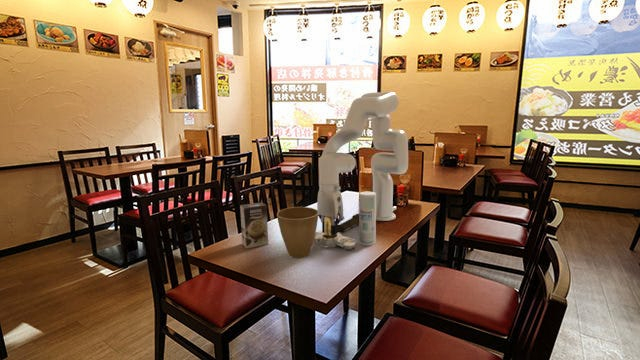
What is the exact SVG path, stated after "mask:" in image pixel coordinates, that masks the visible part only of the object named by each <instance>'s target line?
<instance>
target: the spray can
mask: <svg viewBox="0 0 640 360" xmlns="http://www.w3.org/2000/svg"><path fill="white" fill-rule="evenodd" d="M358 193H359V194H358V197H359V198H358V201H359V202H358V209H359V210H358V212H359V213H358V214H359V224H358V226H359V227H358V229H359V244H361V245H363V246H374V245H375V244H376V237H377V235H376V233H377V232H376V229H377V227H376V226H377V220H376V193H375V192H373V191H370V190H369V191H366V190H365V191H360V192H358Z"/></svg>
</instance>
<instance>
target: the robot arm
mask: <svg viewBox="0 0 640 360" xmlns="http://www.w3.org/2000/svg"><path fill="white" fill-rule="evenodd" d="M361 95H362V94H361ZM399 101H400V100H399V96H398V94H397V93H396V92H393V91H382V92H381V91H380V92H379V91H378V92H367V93H364V94H363V95H362V96H361V97H358V98H355V99H354V100H353V101H352V103H351V105H350V107H349V110H348V112H347V115H346V118H345V119H344V120H345V121H344V122H343V126H342V128H341V129H339V130H338V131H337V132H335V134H334V135H333V136H332V137H330V139H328V140H327V142H326V143H325V146H324V149H323V151H322V154H321V156H319V158H318V177H319V179H318V180H319V181H318V183H319V184H318V185H319V186H318V187H319V190H318V192H317V201H316V202H317V206H316V208H317V209H316V210H317V211H318V219H320V223H321V229H322V232H321V233H324V216H326V217H330V218H331V219H332V225H331V235H335V234H337V233H338V225H340V224H341V222H342V221H344V220H345V215H344V202H343V195H342V192H341V189H342V188H341V186H340V180H339V179H340V176H339V175H340V174H343V173H344V174H347V173H350V172H352V171H353V170H354V169H355V167H356V165H357V163H356V158H355V157H354V156H353V155H352V154H350V153H344V152H341V153H340V152H338V151H339V150H340V149H341V148H342V147H343V146H345V145H347V144H348V143H351V142H353V141H355V140H358V139H359V138H361V137H362V135H363V133H364V130H365V127H366V126H367V123H368V122H367V121H369V119H370V120H371V125H372V126H371V127H372V130H371V131H372V144H373V147H374V148H375V150H379V151H382V152H376V153H375V154H373V155H372V156H371V159H370V167H371V172H372V174H371V175H372V192H375V193H376V221H381V222H382V221H383V222H385V221H387V222H388V221H393V220H395V219H396V217H397V216H396V214H395V213H394V211H397V206H395V205H394V206H393V203H394V201H393V197H394V196H393V195H394V181H393V178H392V176H391V174H392V175H404V174H405V173H406V172H407V171H408V168H409V138H408V136H407V133H406V132H405V131H404V130H402V129H392V121H391V116H390V115H391V114H392V113H394V112H395V111H396V110H397V109H398V106H399ZM383 151H390V152H383ZM391 151H393V152H391Z"/></svg>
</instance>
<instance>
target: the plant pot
mask: <svg viewBox="0 0 640 360" xmlns="http://www.w3.org/2000/svg"><path fill="white" fill-rule="evenodd" d="M276 216H277V217H276V218H277V223H278V227H279V230H280V234H281V238H282V240H283V244H284V246H285V248H286V251H287V252H288V255H289V256H290V257H291V258H293V259H302V258H306V257H308V256H310V253H311V250H312V247H313V244H314V237H315V233H316V232H317V228H318V227H317V226H318V221H319V220H318V219H319V216H318V211H317V209H315V208H313V207H309V206H292V207H287V208H284V209H283V208H282V209H281V210H278V211H277V213H276Z"/></svg>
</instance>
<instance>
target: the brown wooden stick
mask: <svg viewBox="0 0 640 360" xmlns="http://www.w3.org/2000/svg"><path fill="white" fill-rule="evenodd" d="M354 226H359V213H356V214H353V215H352V217H351V218H350V219H348V220H346V221H344V222H342V223H341V222H340V223H339V224H338V232H339V233H340V234H344V233H345V232H346V231H348V230H349V229H351V228H352V227H354Z"/></svg>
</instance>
